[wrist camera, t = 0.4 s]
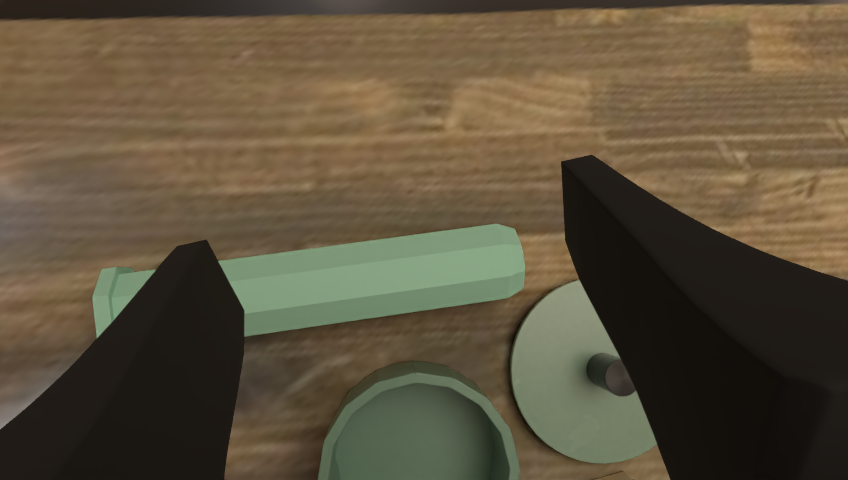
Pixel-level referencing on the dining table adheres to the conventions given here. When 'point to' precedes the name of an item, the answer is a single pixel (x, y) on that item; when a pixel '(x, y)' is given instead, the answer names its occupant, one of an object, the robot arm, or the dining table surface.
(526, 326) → the lid
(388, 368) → the pan
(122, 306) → the green octagonal rod
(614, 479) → the block
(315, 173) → the dining table surface
